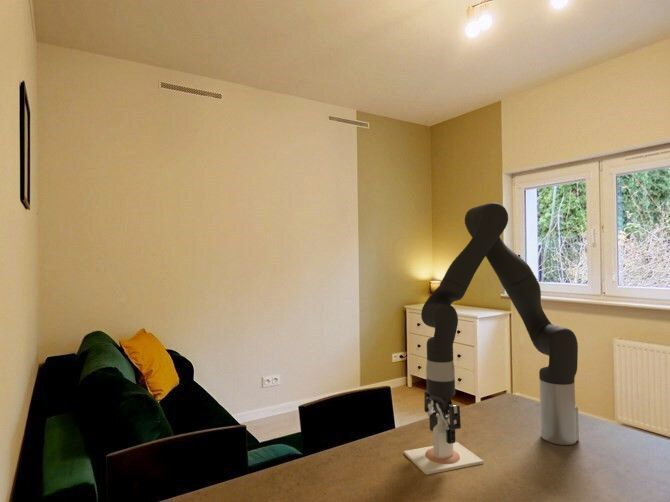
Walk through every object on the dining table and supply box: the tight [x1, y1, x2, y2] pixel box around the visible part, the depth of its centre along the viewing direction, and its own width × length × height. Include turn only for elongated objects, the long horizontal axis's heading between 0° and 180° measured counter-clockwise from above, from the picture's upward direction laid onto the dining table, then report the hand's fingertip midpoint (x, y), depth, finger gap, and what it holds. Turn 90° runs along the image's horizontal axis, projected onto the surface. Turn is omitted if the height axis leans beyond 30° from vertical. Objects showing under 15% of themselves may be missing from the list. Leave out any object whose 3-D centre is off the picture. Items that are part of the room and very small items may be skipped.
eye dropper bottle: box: [432, 414, 454, 459], centre depth 111 cm, size 4×6×12 cm
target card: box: [403, 441, 484, 476], centre depth 112 cm, size 17×12×1 cm
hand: (442, 436), depth 112 cm, fingers open, 8 cm apart
